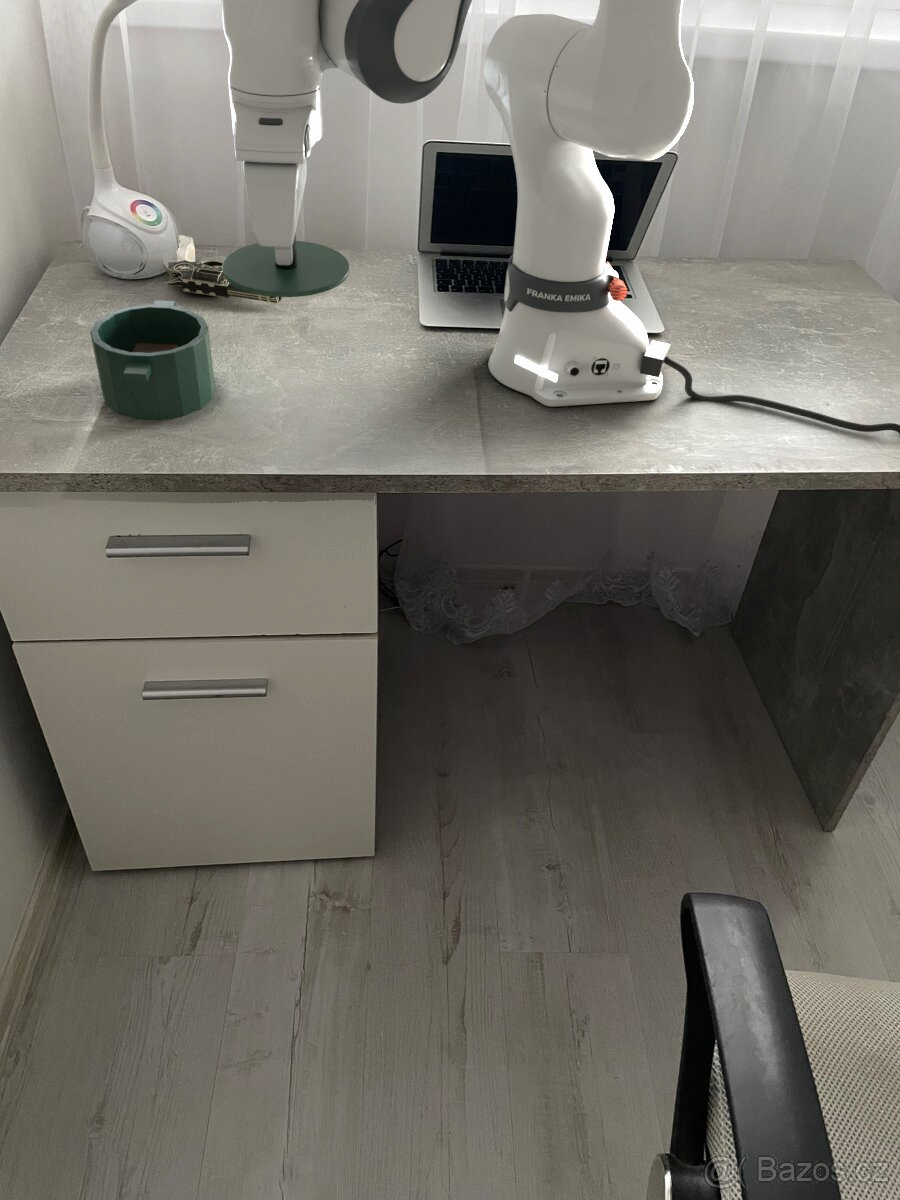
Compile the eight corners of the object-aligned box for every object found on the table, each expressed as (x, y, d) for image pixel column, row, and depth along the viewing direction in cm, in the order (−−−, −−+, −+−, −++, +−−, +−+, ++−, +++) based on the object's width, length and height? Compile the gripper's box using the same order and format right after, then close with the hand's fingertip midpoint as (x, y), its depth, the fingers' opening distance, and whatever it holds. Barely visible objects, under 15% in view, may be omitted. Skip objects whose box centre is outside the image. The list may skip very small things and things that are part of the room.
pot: (224, 361, 119) (217, 297, 114) (202, 438, 106) (194, 370, 100) (122, 357, 118) (110, 292, 113) (87, 435, 105) (72, 365, 99)
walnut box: (183, 382, 114) (178, 344, 111) (176, 403, 110) (170, 364, 107) (142, 381, 114) (136, 342, 110) (134, 401, 110) (127, 362, 107)
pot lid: (351, 252, 109) (350, 202, 105) (347, 305, 99) (346, 251, 95) (231, 248, 108) (226, 197, 104) (215, 300, 98) (208, 246, 94)
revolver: (305, 277, 140) (278, 314, 131) (173, 257, 142) (137, 292, 133) (303, 251, 137) (276, 286, 128) (169, 231, 139) (132, 264, 130)
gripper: (256, 85, 100) (266, 217, 109) (231, 147, 85) (245, 295, 94) (316, 88, 100) (321, 220, 110) (302, 151, 85) (309, 297, 95)
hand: (286, 255), depth 102 cm, fingers closed on pot lid, 2 cm apart
